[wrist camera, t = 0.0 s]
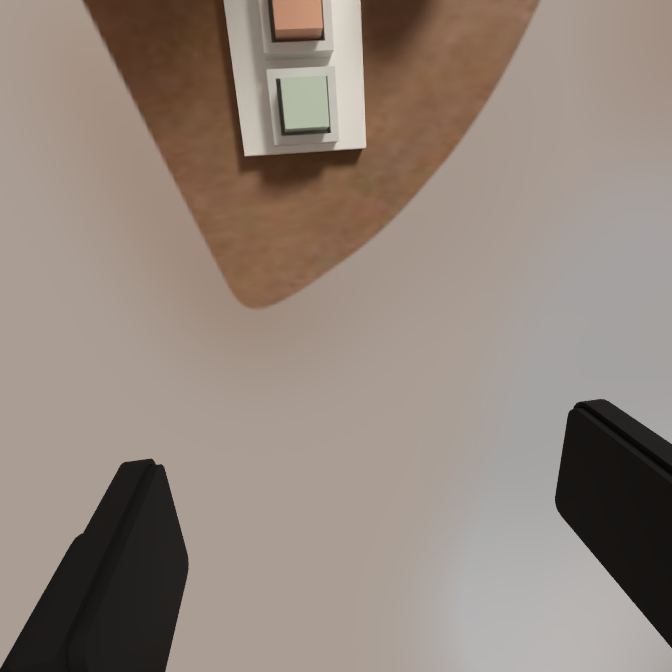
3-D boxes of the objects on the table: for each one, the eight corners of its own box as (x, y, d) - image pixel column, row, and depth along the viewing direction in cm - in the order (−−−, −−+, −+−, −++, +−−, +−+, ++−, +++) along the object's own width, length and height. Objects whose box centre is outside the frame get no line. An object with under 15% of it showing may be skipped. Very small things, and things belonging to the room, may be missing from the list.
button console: (207, -129, 28) (198, -169, 25) (351, -129, 29) (360, -167, 26) (246, 156, 35) (242, 154, 32) (362, 148, 36) (371, 145, 33)
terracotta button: (270, -15, 29) (269, -31, 27) (315, -16, 29) (319, -32, 27) (275, 40, 30) (275, 29, 28) (319, 38, 30) (322, 27, 28)
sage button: (280, 85, 31) (280, 77, 29) (322, 82, 31) (326, 75, 29) (284, 132, 32) (285, 129, 30) (325, 129, 33) (329, 126, 30)
